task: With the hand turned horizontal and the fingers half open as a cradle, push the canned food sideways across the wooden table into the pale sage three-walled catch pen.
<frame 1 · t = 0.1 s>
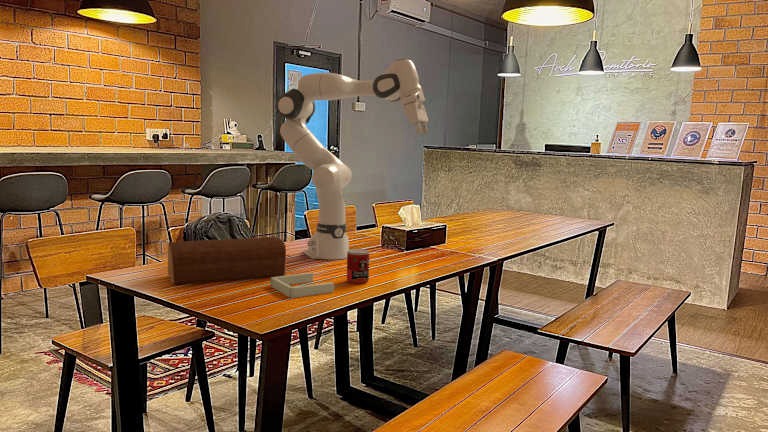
hand: (422, 134, 229), 52 cm above the table, tool tilted 20°, fingers open, 8 cm apart
canned food: (357, 282, 206), on the table
bread: (227, 277, 209), on the table
catch pen: (303, 288, 195), on the table
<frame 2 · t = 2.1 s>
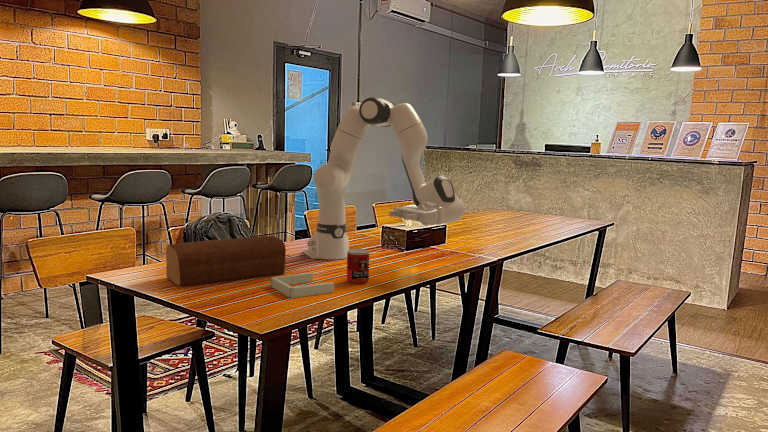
hand: (397, 215, 212), 22 cm above the table, tool horizontal, fingers open, 8 cm apart
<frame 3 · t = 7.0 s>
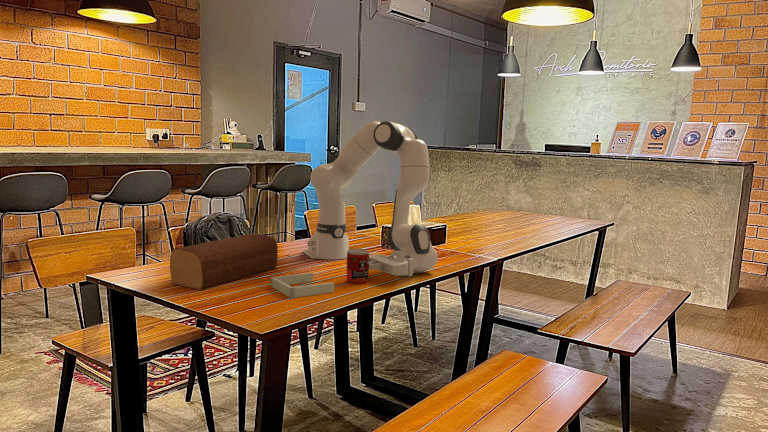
hand: (367, 266, 208), 5 cm above the table, tool horizontal, fingers closed, pressing on canned food
canned food: (357, 282, 206), on the table, touching gripper
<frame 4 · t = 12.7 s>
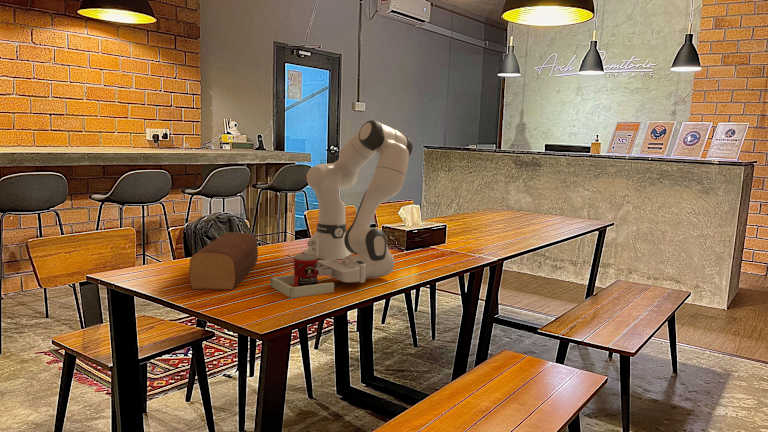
hand: (316, 272, 197), 5 cm above the table, tool horizontal, fingers closed
canned food: (305, 289, 195), on the table
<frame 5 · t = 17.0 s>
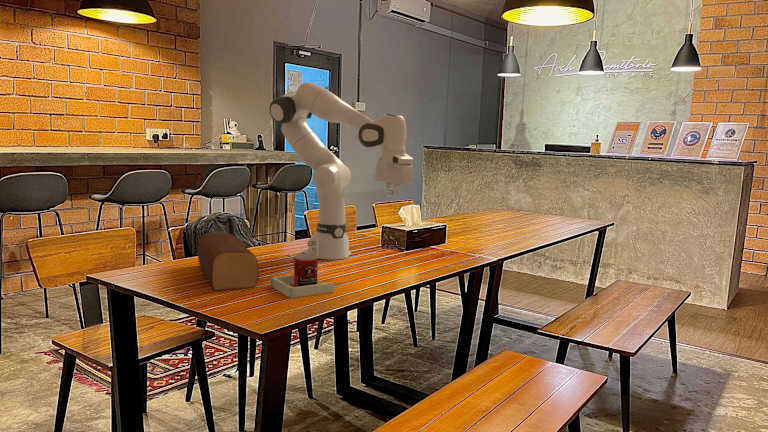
hand: (392, 194, 221), 29 cm above the table, tool pointing down, fingers closed
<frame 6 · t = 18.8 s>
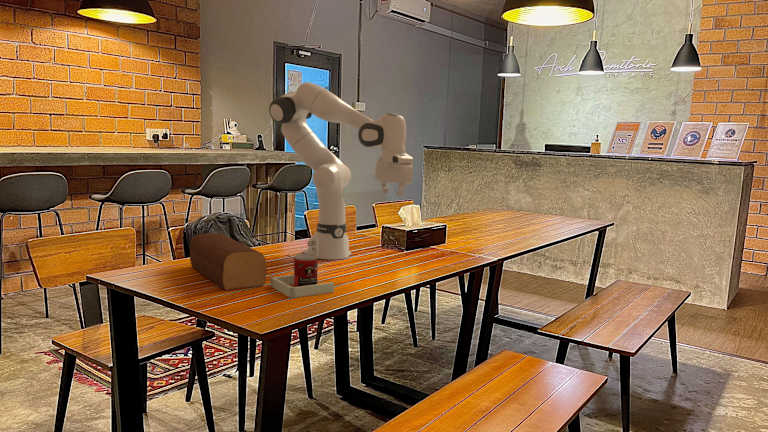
hand: (392, 194, 221), 29 cm above the table, tool pointing down, fingers open, 8 cm apart
at the end: canned food inside the target area (2.4 cm from its centre), on the table; canned food tilted 0°; canned food moved 20.1 cm from its start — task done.
